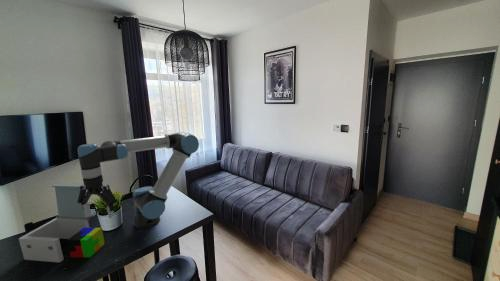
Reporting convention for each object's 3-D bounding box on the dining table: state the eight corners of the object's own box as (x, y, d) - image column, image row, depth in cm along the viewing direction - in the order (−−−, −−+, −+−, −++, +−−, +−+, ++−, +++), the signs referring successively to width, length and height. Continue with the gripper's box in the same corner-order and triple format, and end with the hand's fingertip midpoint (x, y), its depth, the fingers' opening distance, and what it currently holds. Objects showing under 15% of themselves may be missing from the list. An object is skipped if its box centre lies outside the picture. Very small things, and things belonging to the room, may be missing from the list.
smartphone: (100, 205, 153) (94, 215, 140) (100, 206, 153) (94, 216, 140) (88, 207, 151) (81, 217, 137) (89, 208, 151) (81, 218, 137)
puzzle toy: (87, 243, 113) (84, 227, 111) (104, 243, 112) (101, 227, 110) (71, 257, 103) (67, 240, 101) (90, 257, 102) (86, 240, 100)
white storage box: (94, 237, 118) (90, 216, 115) (60, 263, 99) (54, 238, 96) (62, 235, 120) (57, 214, 117) (23, 260, 101) (16, 236, 99)
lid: (84, 220, 113) (88, 218, 115) (80, 186, 110) (84, 185, 113) (56, 219, 115) (60, 217, 117) (51, 185, 112) (56, 184, 115)
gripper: (121, 173, 100) (127, 213, 105) (77, 172, 103) (85, 210, 107) (109, 179, 93) (116, 221, 97) (62, 178, 96) (71, 219, 100)
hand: (99, 216), depth 102 cm, fingers open, 12 cm apart
